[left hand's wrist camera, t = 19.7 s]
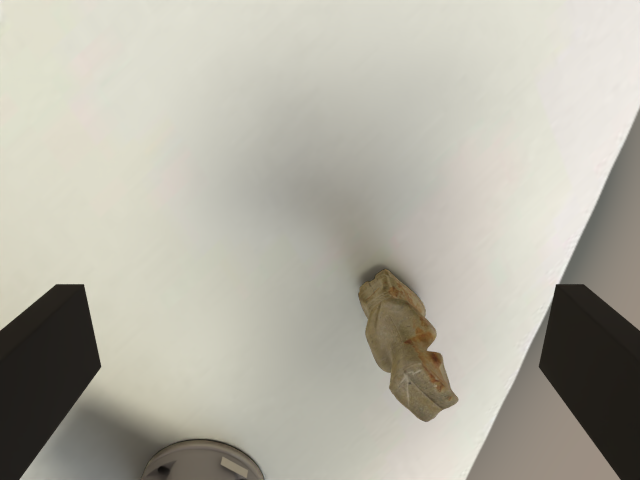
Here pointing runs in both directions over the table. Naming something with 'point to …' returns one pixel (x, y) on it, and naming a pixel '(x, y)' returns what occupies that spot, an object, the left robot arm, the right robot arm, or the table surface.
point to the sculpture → (405, 346)
